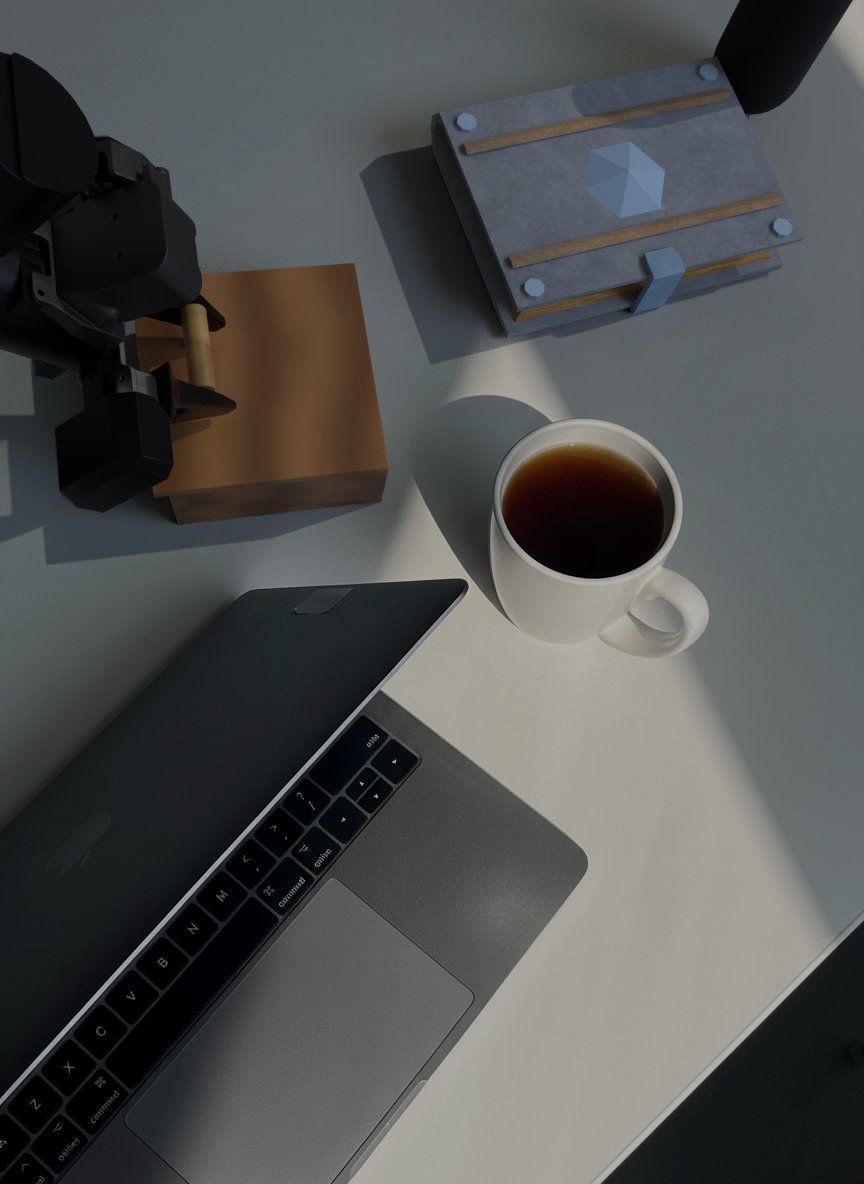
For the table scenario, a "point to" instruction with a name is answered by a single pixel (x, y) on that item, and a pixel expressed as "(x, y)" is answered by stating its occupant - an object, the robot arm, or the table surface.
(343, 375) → the lid
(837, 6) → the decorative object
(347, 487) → the chest
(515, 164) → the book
